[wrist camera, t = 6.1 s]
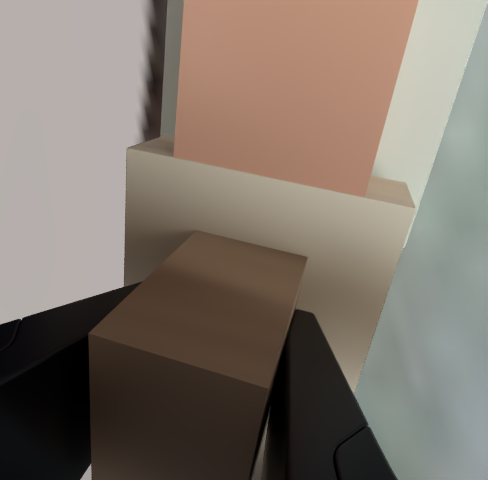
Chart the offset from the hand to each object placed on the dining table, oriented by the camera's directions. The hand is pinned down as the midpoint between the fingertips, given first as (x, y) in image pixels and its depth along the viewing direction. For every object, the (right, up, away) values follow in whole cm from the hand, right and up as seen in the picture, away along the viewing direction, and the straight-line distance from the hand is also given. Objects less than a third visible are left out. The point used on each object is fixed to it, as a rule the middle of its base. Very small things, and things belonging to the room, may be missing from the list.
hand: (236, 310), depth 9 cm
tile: (+1, +6, +1) cm, 6 cm away
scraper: (+1, +1, +2) cm, 3 cm away
